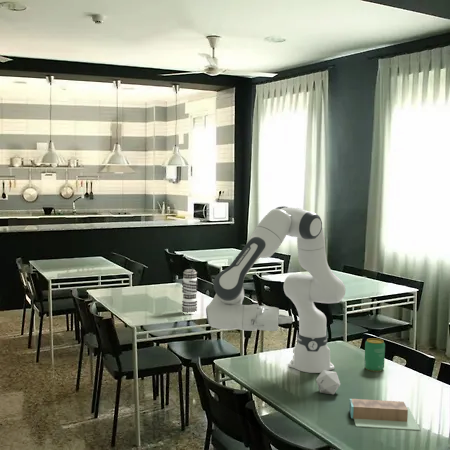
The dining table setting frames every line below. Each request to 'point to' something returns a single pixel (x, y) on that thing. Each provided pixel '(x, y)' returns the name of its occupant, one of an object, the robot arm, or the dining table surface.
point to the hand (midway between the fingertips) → (292, 319)
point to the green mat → (389, 423)
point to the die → (328, 382)
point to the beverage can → (374, 354)
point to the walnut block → (378, 410)
